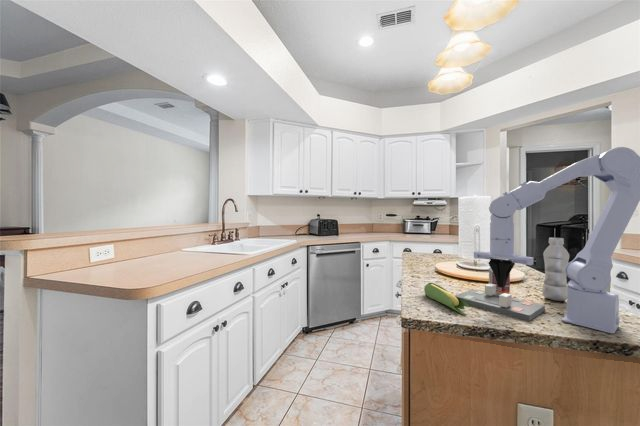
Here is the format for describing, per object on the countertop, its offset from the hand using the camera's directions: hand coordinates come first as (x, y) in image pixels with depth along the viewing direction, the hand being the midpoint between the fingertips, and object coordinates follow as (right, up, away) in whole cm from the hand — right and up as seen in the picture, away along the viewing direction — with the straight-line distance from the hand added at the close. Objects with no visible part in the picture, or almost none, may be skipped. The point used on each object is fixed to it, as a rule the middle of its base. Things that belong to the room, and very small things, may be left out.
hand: (501, 286), depth 80 cm
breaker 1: (+3, -5, +10) cm, 11 cm away
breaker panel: (+2, -7, +4) cm, 8 cm away
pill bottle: (+11, -7, +17) cm, 22 cm away
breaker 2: (+1, -5, -1) cm, 5 cm away
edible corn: (-14, -7, +6) cm, 17 cm away
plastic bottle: (+24, -7, +10) cm, 27 cm away
